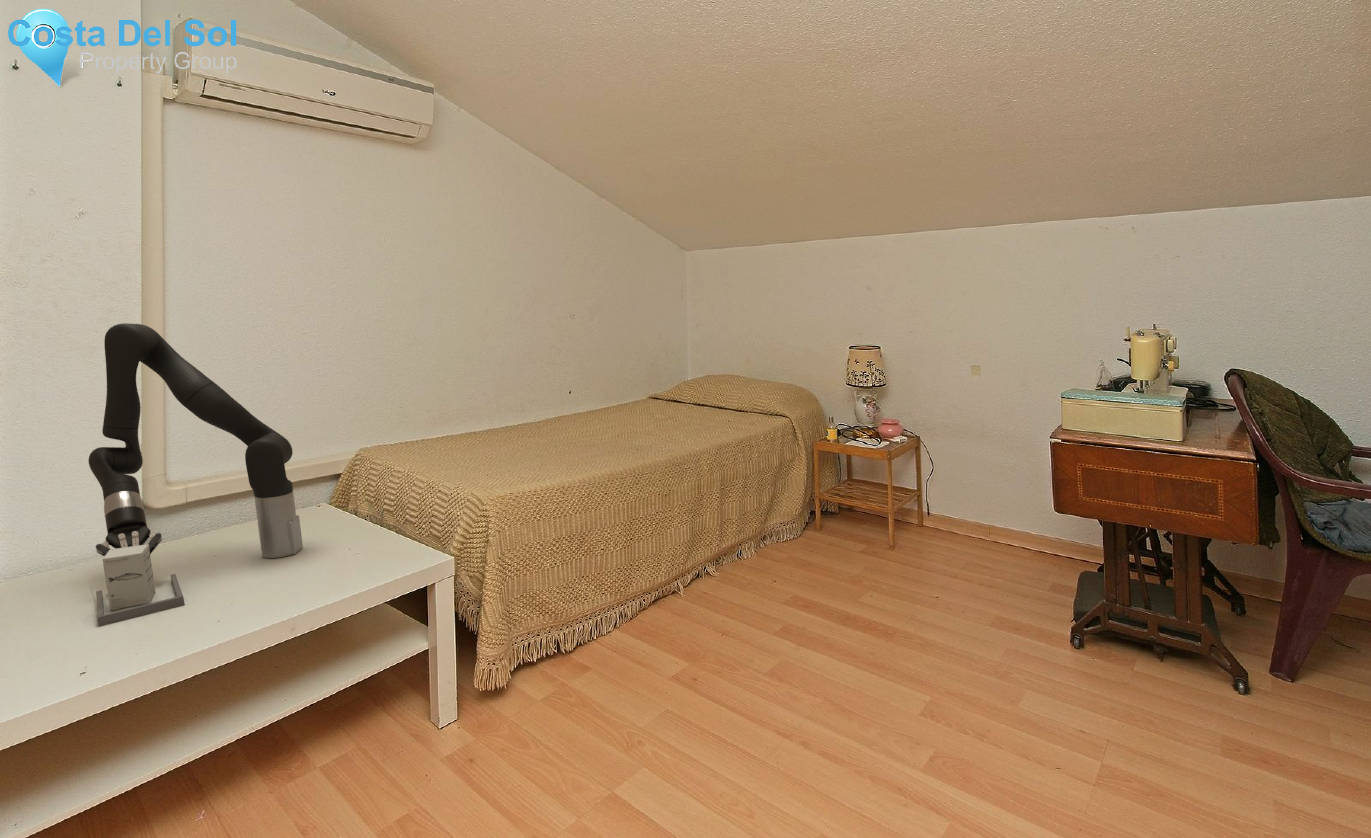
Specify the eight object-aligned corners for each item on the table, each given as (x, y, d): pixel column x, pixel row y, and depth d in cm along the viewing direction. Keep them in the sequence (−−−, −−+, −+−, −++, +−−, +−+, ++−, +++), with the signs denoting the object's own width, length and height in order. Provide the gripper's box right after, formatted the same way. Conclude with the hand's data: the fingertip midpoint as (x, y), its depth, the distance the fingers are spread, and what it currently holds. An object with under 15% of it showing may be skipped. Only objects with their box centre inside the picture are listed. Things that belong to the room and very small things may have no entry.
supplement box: (109, 611, 149) (100, 558, 147) (118, 599, 156) (109, 548, 154) (150, 604, 153) (142, 552, 151) (157, 592, 159) (149, 542, 157)
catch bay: (97, 599, 156) (96, 591, 155) (176, 581, 166) (175, 573, 165) (98, 626, 142) (97, 617, 142) (184, 604, 152) (183, 596, 152)
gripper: (87, 511, 157) (96, 574, 150) (157, 500, 166) (168, 559, 159) (91, 527, 162) (99, 589, 155) (159, 515, 171) (170, 573, 164)
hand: (134, 574), depth 157 cm, fingers closed
